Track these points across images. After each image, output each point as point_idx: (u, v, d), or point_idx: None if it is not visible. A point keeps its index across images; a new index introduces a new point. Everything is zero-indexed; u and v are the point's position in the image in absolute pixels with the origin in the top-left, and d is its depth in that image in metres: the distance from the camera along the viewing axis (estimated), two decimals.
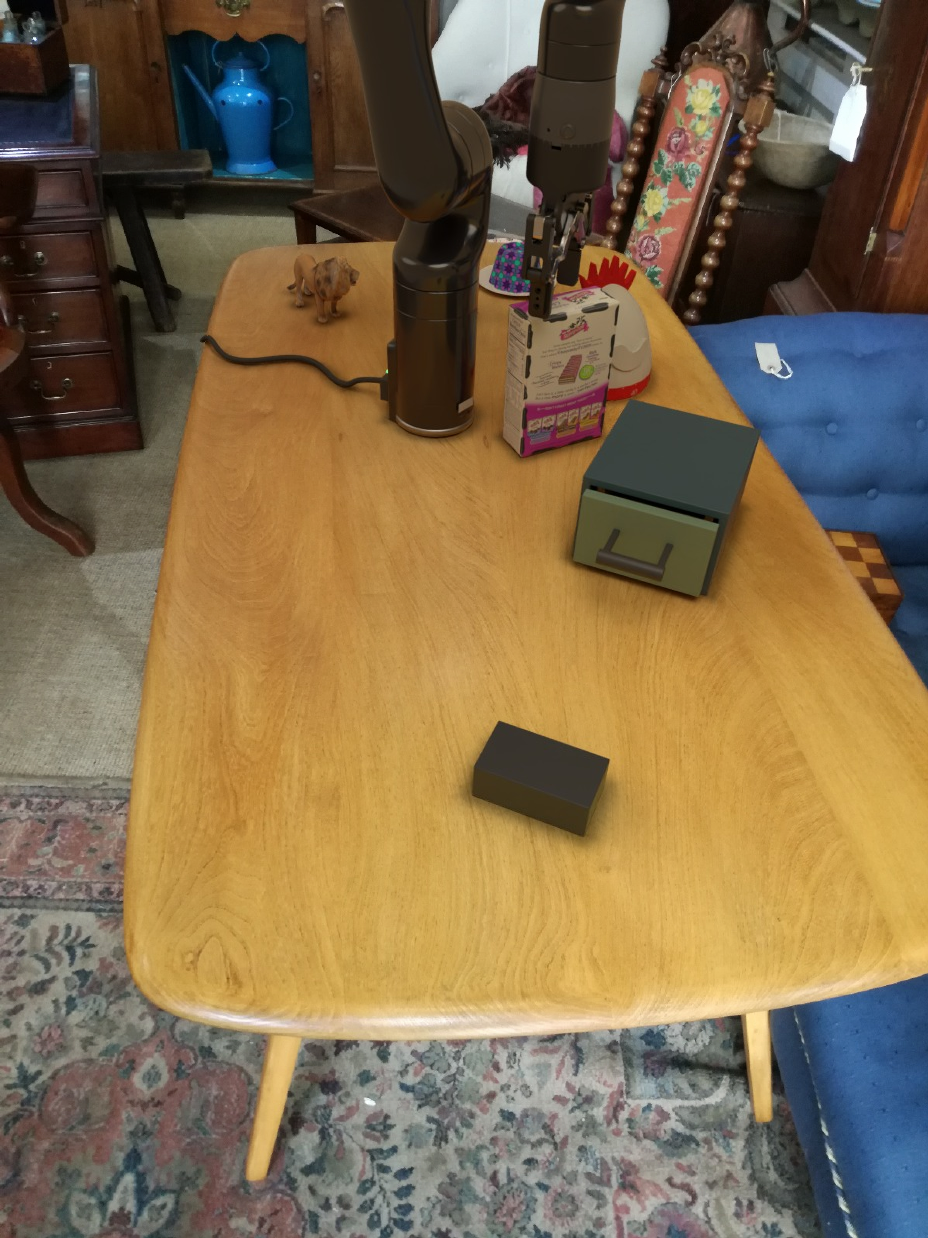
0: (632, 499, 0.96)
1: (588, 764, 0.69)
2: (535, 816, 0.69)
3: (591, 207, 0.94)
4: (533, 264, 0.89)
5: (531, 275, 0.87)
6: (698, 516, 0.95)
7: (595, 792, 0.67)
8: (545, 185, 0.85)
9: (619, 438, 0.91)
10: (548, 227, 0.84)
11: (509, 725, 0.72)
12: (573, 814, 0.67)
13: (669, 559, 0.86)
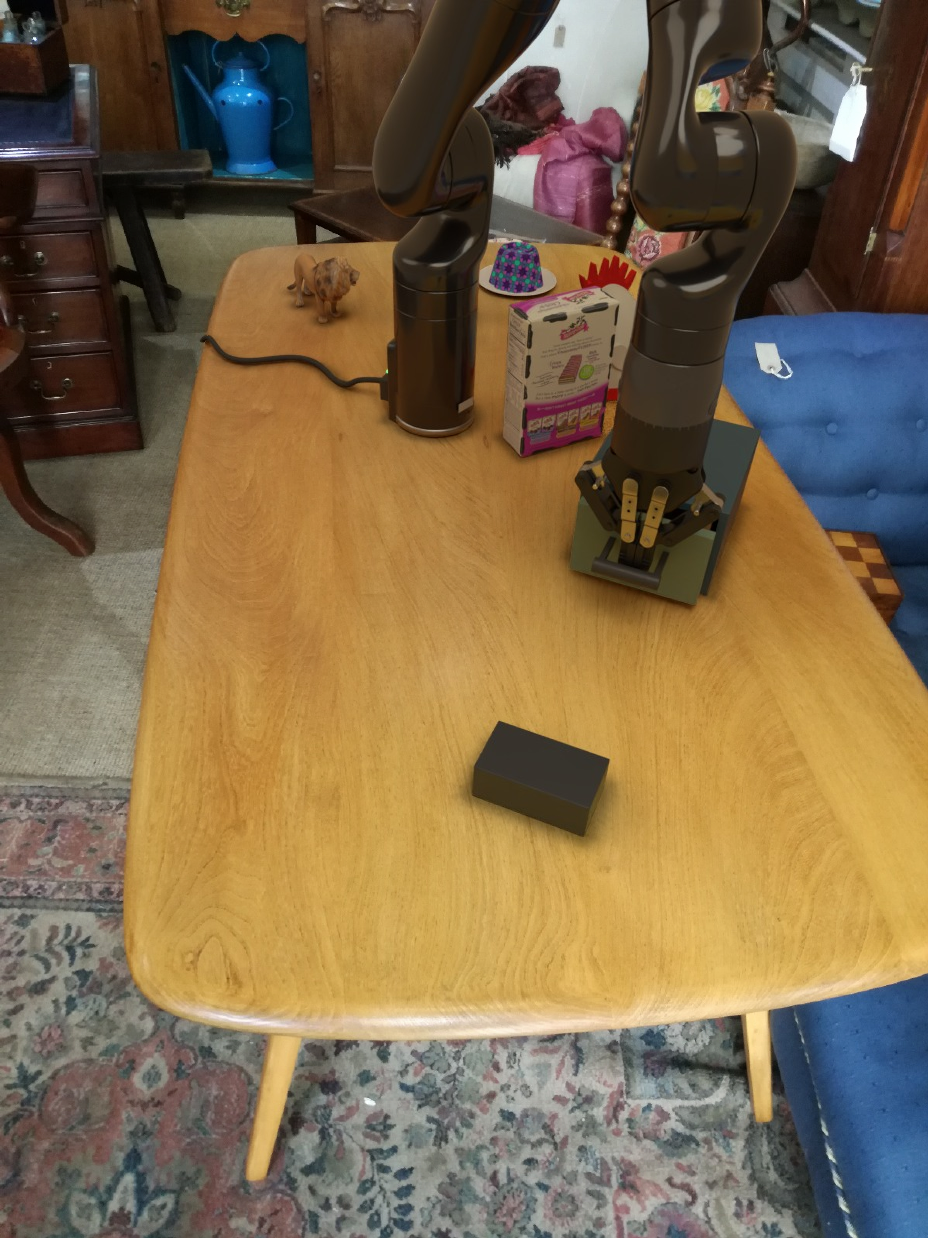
0: None
1: (588, 764, 0.69)
2: (535, 816, 0.69)
3: (688, 524, 0.77)
4: None
5: None
6: None
7: (595, 792, 0.67)
8: None
9: None
10: None
11: (509, 725, 0.72)
12: (573, 814, 0.67)
13: (665, 567, 0.85)
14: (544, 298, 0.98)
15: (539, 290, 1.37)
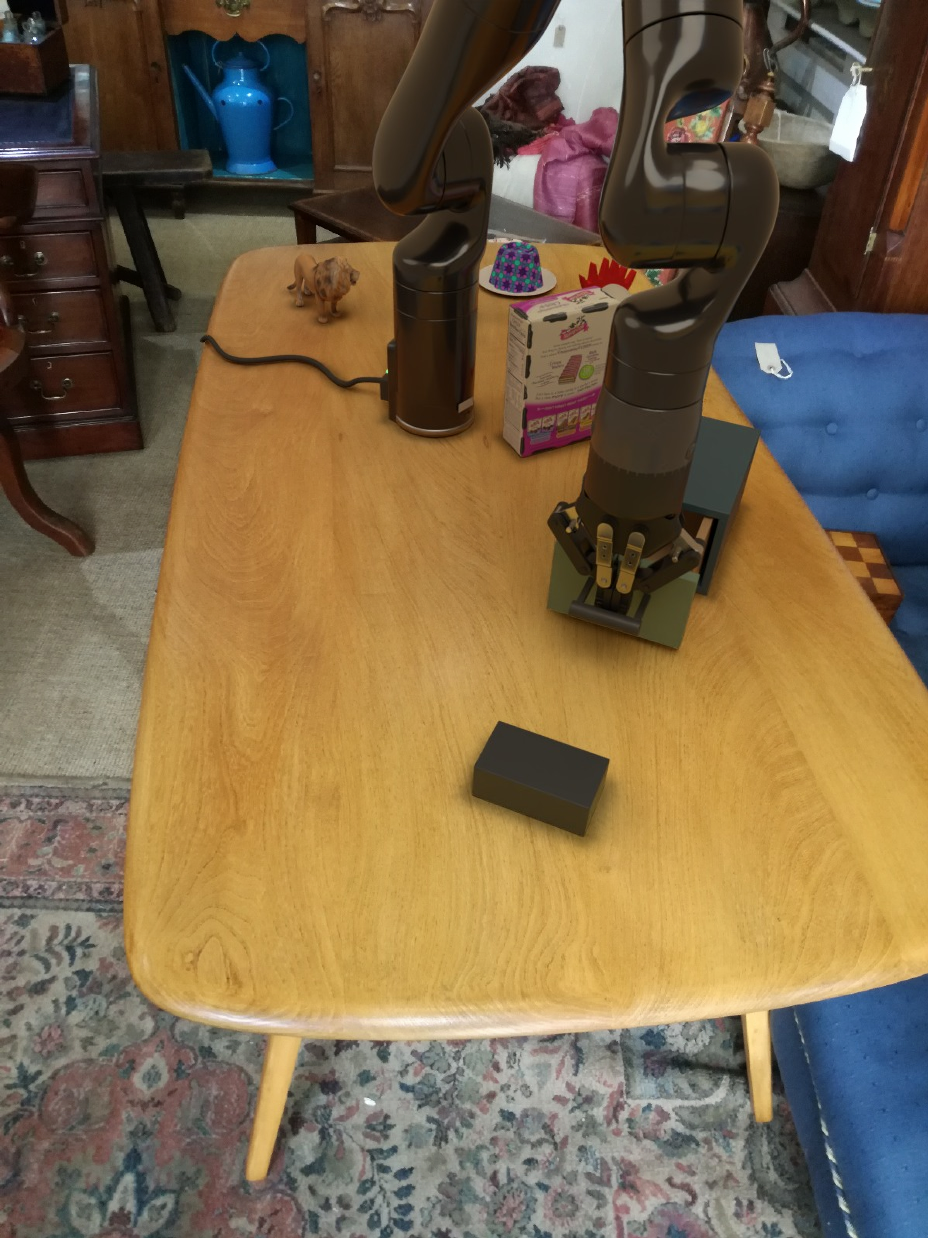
0: None
1: (588, 764, 0.69)
2: (535, 816, 0.69)
3: (666, 571, 0.73)
4: None
5: None
6: None
7: (595, 792, 0.67)
8: None
9: None
10: None
11: (509, 725, 0.72)
12: (573, 814, 0.67)
13: (647, 610, 0.81)
14: (544, 298, 0.98)
15: (539, 290, 1.37)
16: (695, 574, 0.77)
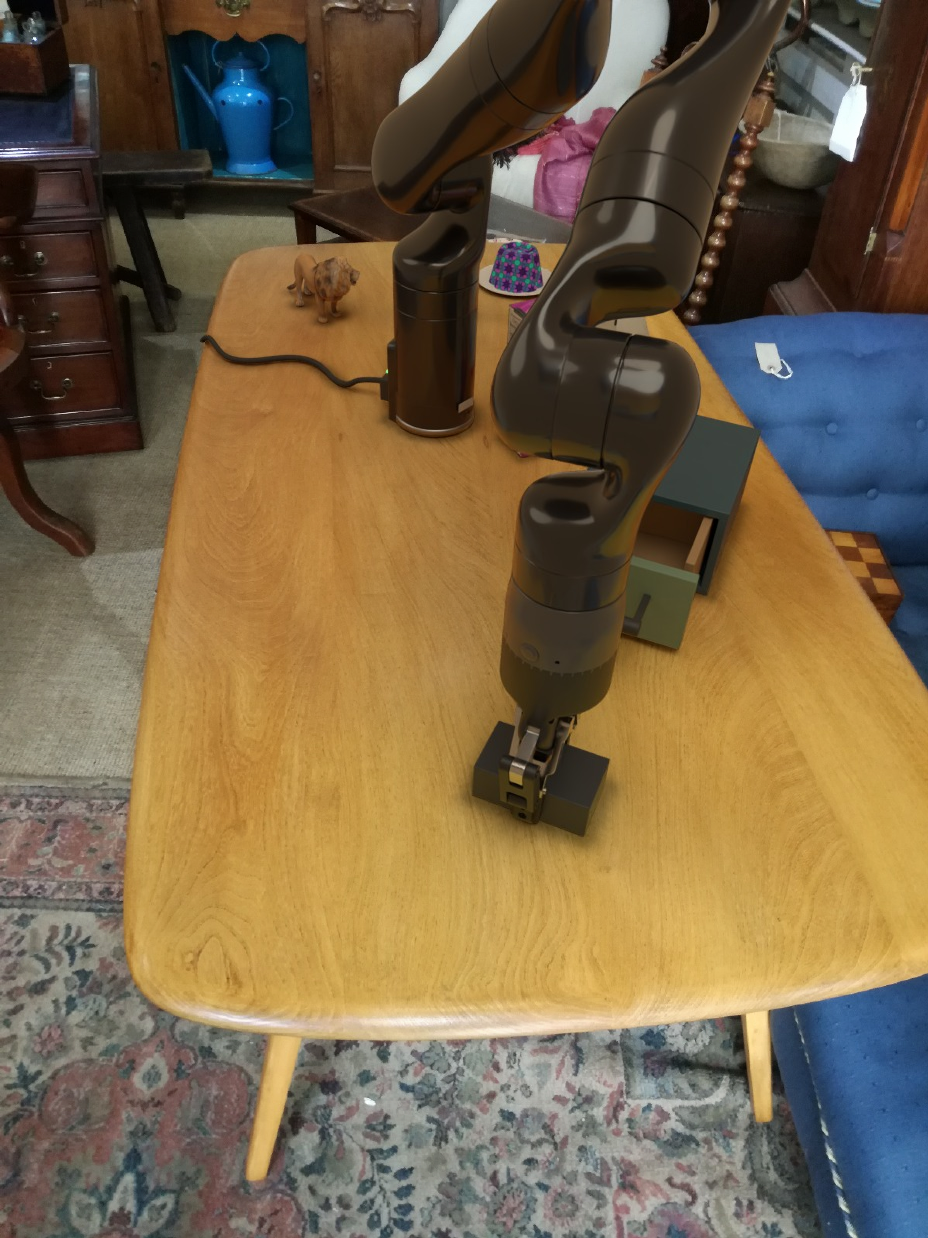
0: None
1: (588, 764, 0.69)
2: None
3: None
4: None
5: None
6: (680, 559, 0.89)
7: (595, 792, 0.67)
8: None
9: None
10: None
11: (509, 725, 0.72)
12: (573, 814, 0.67)
13: (647, 610, 0.81)
14: None
15: (539, 290, 1.37)
16: (695, 575, 0.77)
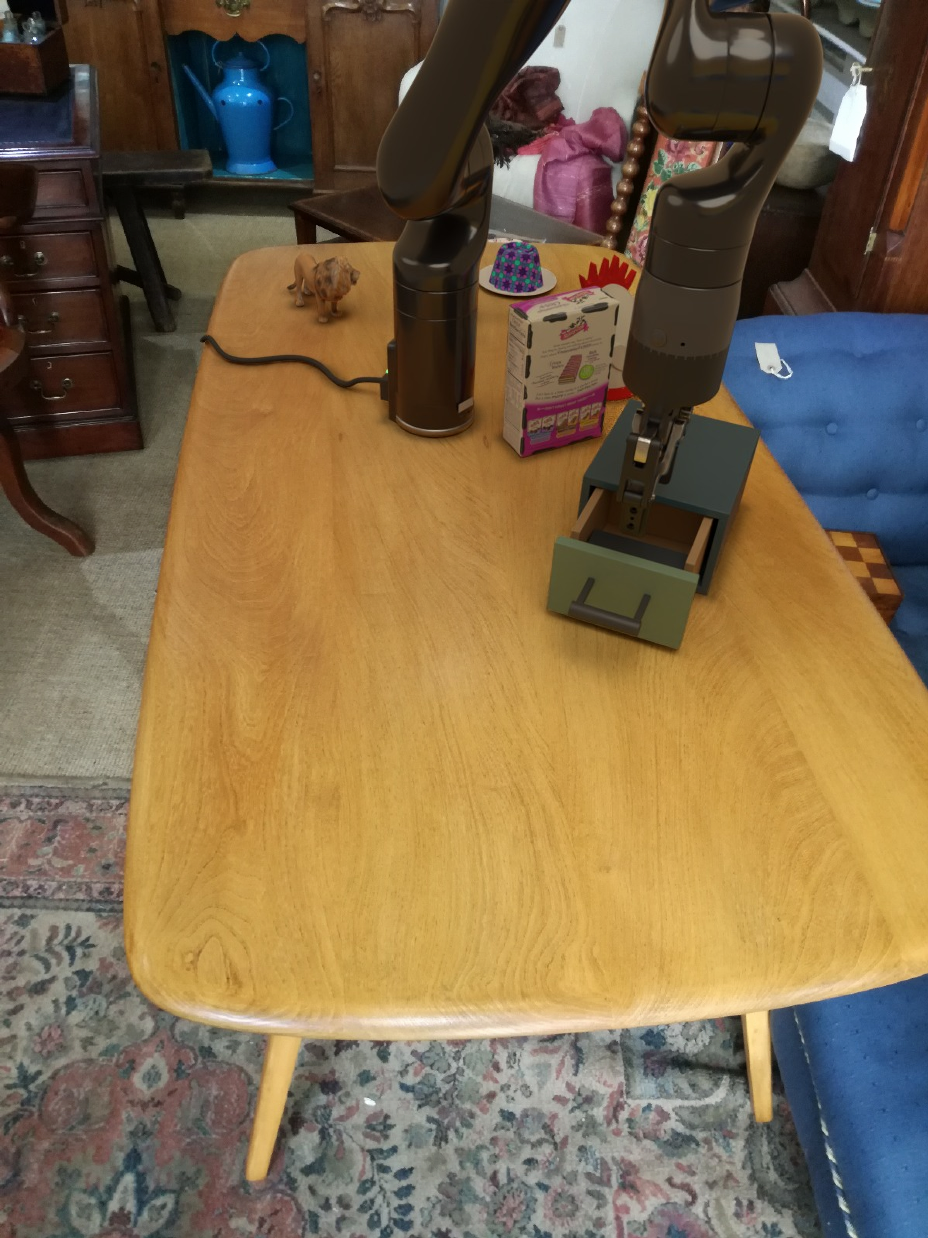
0: None
1: (672, 558, 0.84)
2: None
3: None
4: None
5: None
6: None
7: None
8: None
9: (619, 438, 0.91)
10: None
11: (604, 532, 0.87)
12: None
13: (647, 610, 0.81)
14: (544, 298, 0.98)
15: (539, 290, 1.37)
16: (695, 575, 0.77)
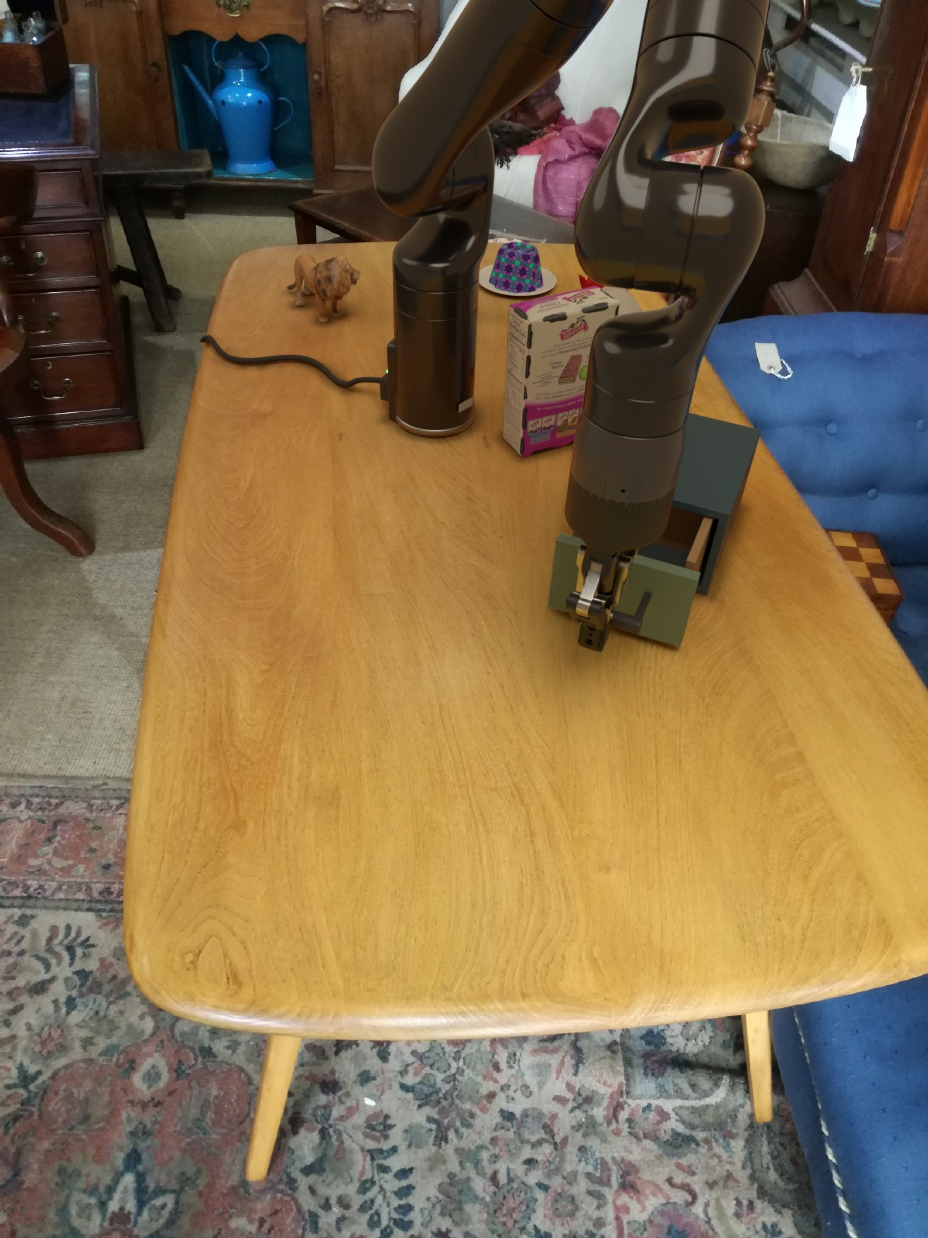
0: None
1: (673, 556, 0.84)
2: None
3: None
4: None
5: None
6: None
7: None
8: None
9: None
10: None
11: None
12: None
13: (648, 608, 0.81)
14: (544, 298, 0.98)
15: (539, 290, 1.37)
16: (696, 572, 0.78)
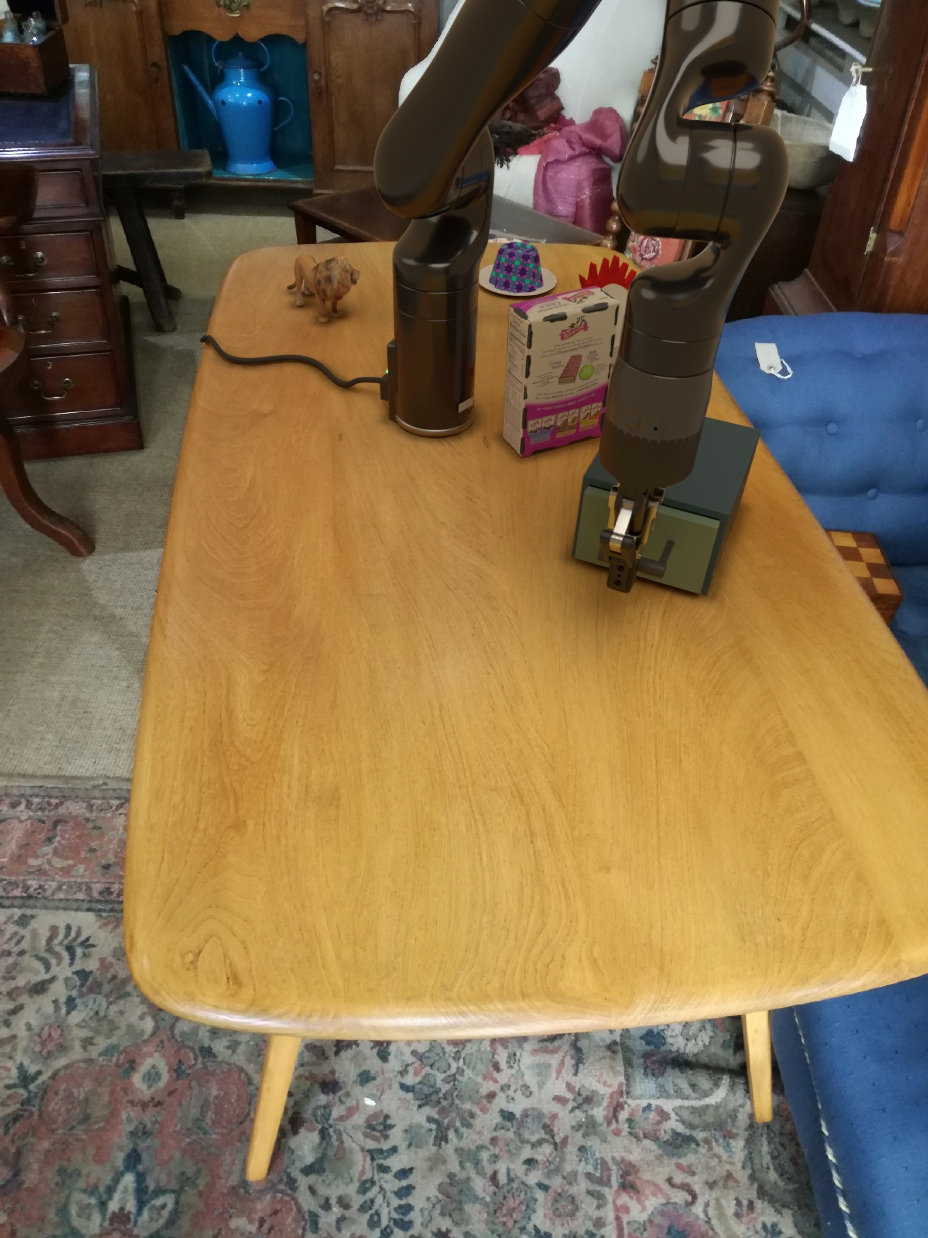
0: None
1: None
2: None
3: None
4: None
5: None
6: None
7: None
8: None
9: None
10: None
11: None
12: None
13: (670, 556, 0.86)
14: (544, 298, 0.98)
15: (539, 290, 1.37)
16: (716, 521, 0.83)
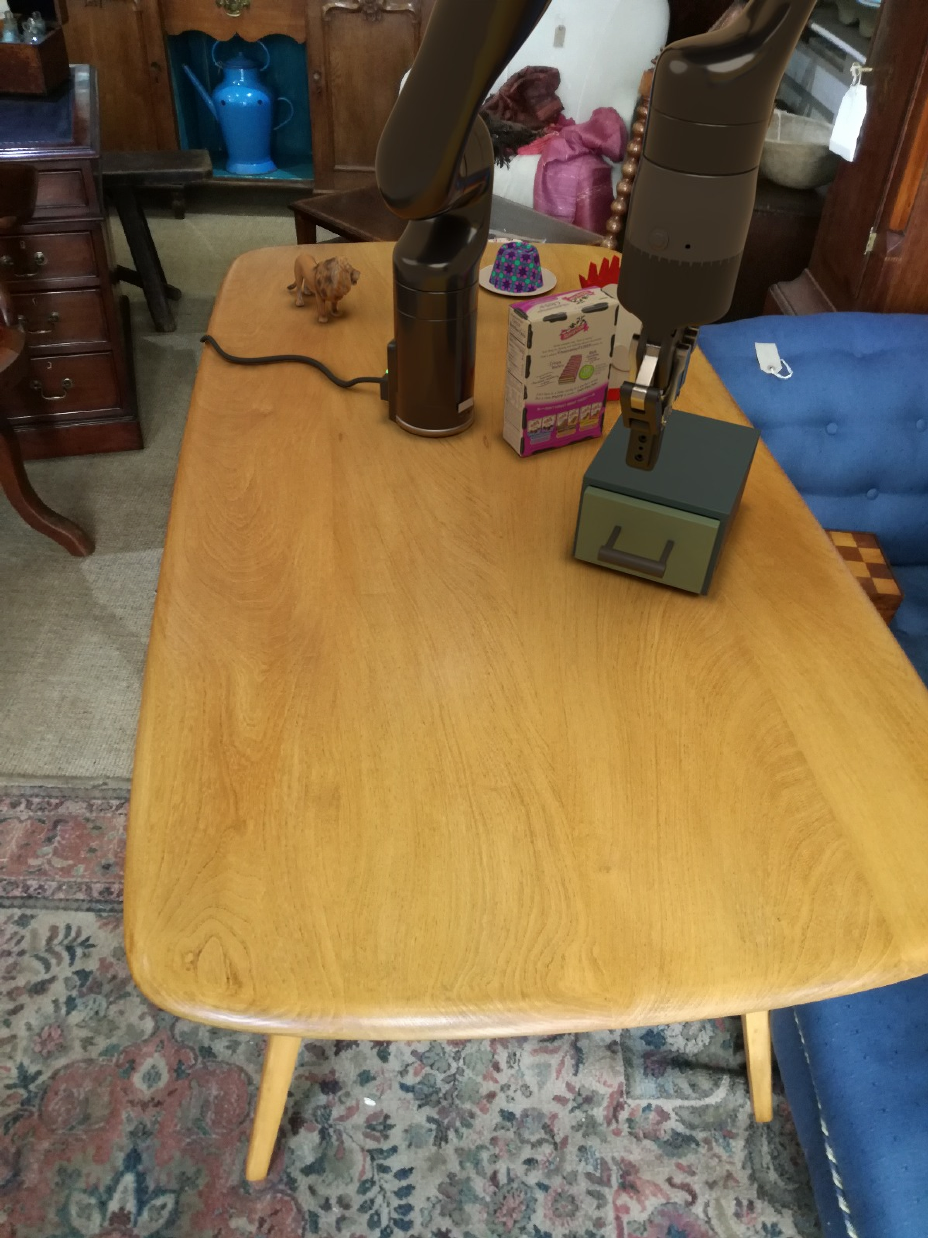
0: None
1: None
2: None
3: None
4: None
5: None
6: None
7: None
8: None
9: (619, 438, 0.91)
10: None
11: None
12: None
13: (670, 556, 0.86)
14: (544, 298, 0.98)
15: (539, 290, 1.37)
16: (716, 521, 0.83)
